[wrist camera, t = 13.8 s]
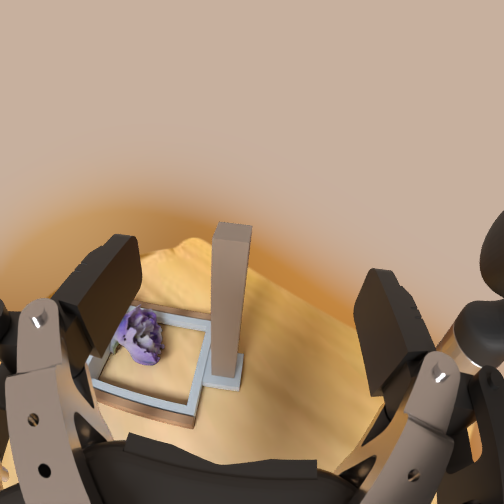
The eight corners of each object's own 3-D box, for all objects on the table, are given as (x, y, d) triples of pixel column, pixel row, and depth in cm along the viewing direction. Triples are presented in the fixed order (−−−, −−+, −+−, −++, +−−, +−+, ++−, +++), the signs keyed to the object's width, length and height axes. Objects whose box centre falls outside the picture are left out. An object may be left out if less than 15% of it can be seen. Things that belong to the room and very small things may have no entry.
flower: (86, 351, 29) (140, 311, 32) (94, 325, 37) (140, 291, 39) (131, 395, 32) (183, 360, 35) (131, 365, 40) (175, 333, 42)
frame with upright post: (84, 386, 30) (14, 253, 18) (124, 309, 45) (99, 185, 32) (234, 425, 30) (253, 299, 17) (246, 332, 44) (264, 200, 32)
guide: (33, 371, 29) (28, 365, 28) (83, 294, 46) (80, 287, 45) (193, 429, 29) (192, 424, 28) (217, 322, 46) (217, 315, 45)
